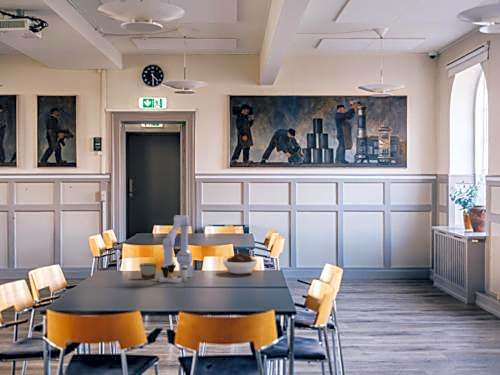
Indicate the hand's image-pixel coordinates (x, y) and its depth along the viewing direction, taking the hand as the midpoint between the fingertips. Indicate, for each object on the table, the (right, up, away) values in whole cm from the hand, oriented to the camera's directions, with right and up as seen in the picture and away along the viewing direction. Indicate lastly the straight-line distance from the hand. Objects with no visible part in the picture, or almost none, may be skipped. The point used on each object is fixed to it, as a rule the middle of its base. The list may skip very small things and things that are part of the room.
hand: (168, 276), depth 391 cm
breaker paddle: (+1, 0, +3) cm, 3 cm away
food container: (-16, -4, +18) cm, 24 cm away
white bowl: (+47, -4, +40) cm, 62 cm away
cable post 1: (-4, -4, +12) cm, 13 cm away
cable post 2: (+10, -4, +7) cm, 13 cm away
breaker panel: (+1, -4, +4) cm, 6 cm away
